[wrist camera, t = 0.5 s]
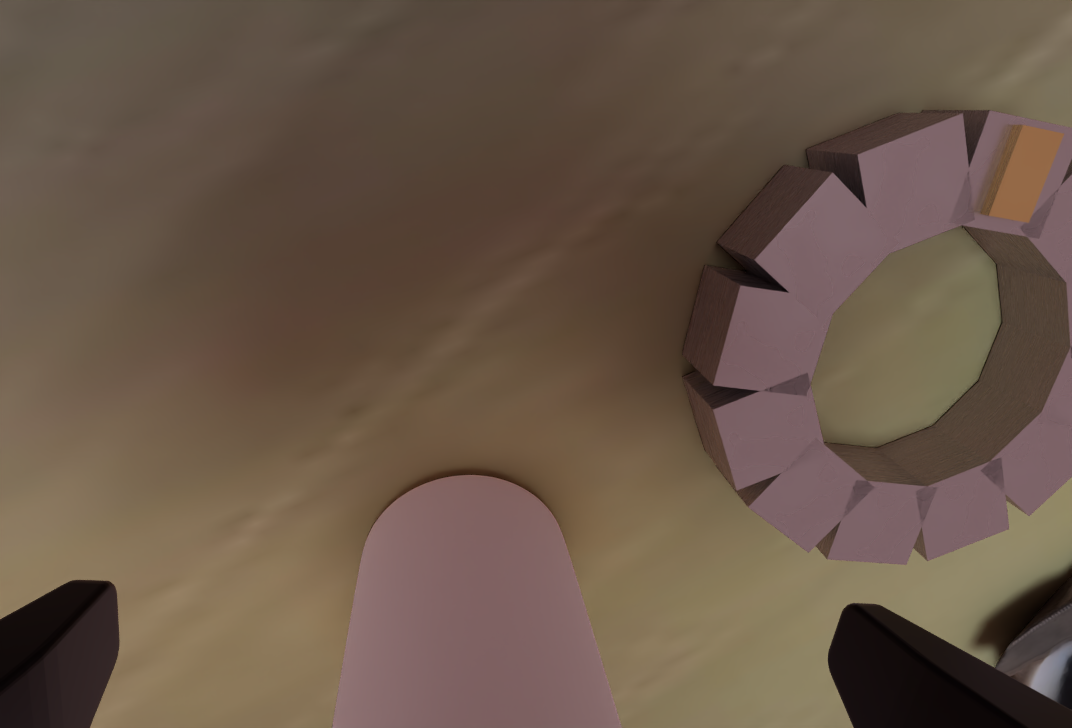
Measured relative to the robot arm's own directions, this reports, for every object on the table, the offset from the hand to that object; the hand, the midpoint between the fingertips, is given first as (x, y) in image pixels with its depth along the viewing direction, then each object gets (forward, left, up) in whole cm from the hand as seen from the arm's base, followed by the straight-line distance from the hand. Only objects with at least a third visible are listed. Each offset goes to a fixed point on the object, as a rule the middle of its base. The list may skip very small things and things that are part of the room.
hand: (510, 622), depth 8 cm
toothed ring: (+2, -13, -12) cm, 18 cm away
